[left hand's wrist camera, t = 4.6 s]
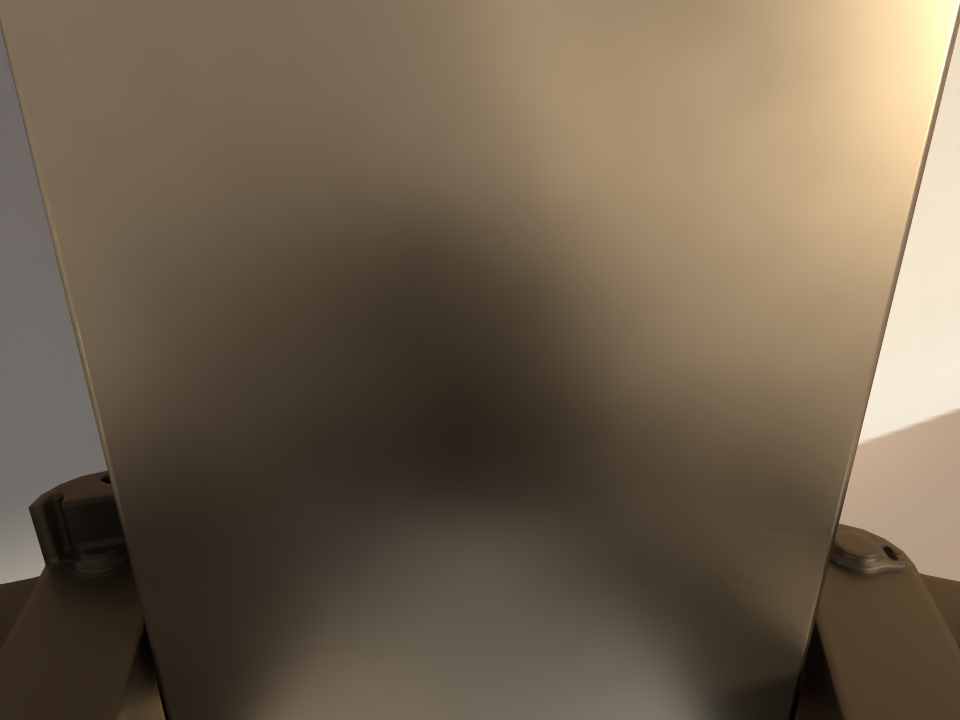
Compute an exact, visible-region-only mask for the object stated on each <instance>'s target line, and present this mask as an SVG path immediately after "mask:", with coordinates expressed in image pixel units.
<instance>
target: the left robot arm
mask: <svg viewBox="0 0 960 720" xmlns="http://www.w3.org/2000/svg"><path fill="white" fill-rule="evenodd" d="M29 511H30V514H31V517H32V521H33V524H34V527H35V531H36V534H37V537H38V541H39V544H40V547H41V551H42V554H43V557H44V561H45V564H46V566H45V568H44V570H43V572H42V574H41V575H40V576H39V577H35V578H31V579H26V580H21V581H16V582H11V583H6V584H1V585H0V720H168V716H167V712H166V708H165V704H164V700H163V696H162V692H161V687H160V683H159V679H158V675H157V671H156V667H155V663H154V658H153V654H152V650H151V646H150V642H149V638H148V634H147V630H146V625H145V621H144V617H143V613H142V609H141V605H140V601H139V596H138V592H137V588H136V584H135V580H134V576H133V572H132V568H131V563H130V559H129V555H128V551H127V547H126V543H125V539H124V534H123V530H122V526H121V522H120V518H119V514H118V510H117V506H116V501H115V497H114V493H113V489H112V485H111V481H110V477H109V472H108V471H104V472H100V473H95V474H90V475H86V476H82V477H79V478H76V479H74V480H71V481H68V482H66V483H63V484H60V485H58V486H57V487H55V488H53V489H51V490H50V491H48V492H46V493H44V494H43V495H41V496H40V497H39V498H38V499H37V500H36V501H35V502H34V503H33V504H32V505H31V506H30V507H29ZM791 720H960V582H959V581H954V580H949V579H944V578H939V577H933V576H928V575H924V574H920V573H919V572H918V571H917V569H916V567H915V565H914V564H913V563H912V561H911V560H910V559H909V558H908V557H907V555H906V554H905V553H904V552H903V551H902V550H900V549H899V548H897V547H896V546H894V545H893V544H891V543H890V542H889V541H887V540H886V539H884V538H881V537H879V536H877V535H875V534H872V533H870V532H868V531H865V530H863V529H859V528H855V527H851V526H847V525H843V524H838V528H837V532H836V536H835V540H834V545H833V549H832V553H831V557H830V561H829V565H828V569H827V574H826V578H825V582H824V586H823V590H822V594H821V598H820V603H819V607H818V611H817V615H816V619H815V623H814V627H813V631H812V636H811V640H810V644H809V648H808V652H807V656H806V660H805V665H804V669H803V673H802V677H801V681H800V685H799V689H798V693H797V698H796V702H795V706H794V710H793V714H792V718H791Z"/></svg>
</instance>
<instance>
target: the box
mask: <svg viewBox="0 0 960 720" xmlns="http://www.w3.org/2000/svg"><path fill="white" fill-rule="evenodd" d="M959 24H960V0H0V26H1V30H2V34H3V38H4V43H5V47H6V51H7V55H8V59H9V63H10V67H11V72H12V76H13V80H14V84H15V88H16V92H17V96H18V100H19V105H20V109H21V113H22V117H23V121H24V125H25V129H26V134H27V138H28V142H29V146H30V150H31V154H32V158H33V162H34V167H35V171H36V175H37V179H38V183H39V187H40V191H41V196H42V200H43V204H44V208H45V212H46V216H47V220H48V224H49V229H50V233H51V237H52V241H53V245H54V249H55V253H56V258H57V262H58V266H59V270H60V274H61V278H62V282H63V286H64V291H65V295H66V299H67V303H68V307H69V311H70V315H71V320H72V324H73V328H74V332H75V336H76V340H77V344H78V348H79V353H80V357H81V361H82V365H83V369H84V373H85V377H86V382H87V386H88V390H89V394H90V398H91V402H92V406H93V410H94V415H95V419H96V423H97V427H98V431H99V435H100V439H101V444H102V448H103V452H104V456H105V460H106V464H107V468H108V472H109V477H110V481H111V485H112V489H113V493H114V497H115V501H116V506H117V510H118V514H119V518H120V522H121V526H122V530H123V534H124V539H125V543H126V547H127V551H128V555H129V559H130V563H131V568H132V572H133V576H134V580H135V584H136V588H137V592H138V596H139V601H140V605H141V609H142V613H143V617H144V621H145V625H146V630H147V634H148V638H149V642H150V646H151V650H152V654H153V658H154V663H155V667H156V671H157V675H158V679H159V683H160V687H161V692H162V696H163V700H164V704H165V708H166V712H167V716H168V720H791V718H792V714H793V710H794V706H795V702H796V698H797V693H798V689H799V685H800V681H801V677H802V673H803V669H804V665H805V660H806V656H807V652H808V648H809V644H810V640H811V636H812V631H813V627H814V623H815V619H816V615H817V611H818V607H819V603H820V598H821V594H822V590H823V586H824V582H825V578H826V574H827V569H828V565H829V561H830V557H831V553H832V549H833V545H834V540H835V536H836V532H837V528H838V524H839V520H840V516H841V512H842V507H843V503H844V499H845V495H846V491H847V487H848V483H849V478H850V474H851V470H852V466H853V462H854V458H855V454H856V450H857V445H858V441H859V437H860V433H861V429H862V425H863V421H864V416H865V412H866V408H867V404H868V400H869V396H870V392H871V388H872V383H873V379H874V375H875V371H876V367H877V363H878V359H879V354H880V350H881V346H882V342H883V338H884V334H885V330H886V325H887V321H888V317H889V313H890V309H891V305H892V301H893V297H894V292H895V288H896V284H897V280H898V276H899V272H900V268H901V263H902V259H903V255H904V251H905V247H906V243H907V239H908V235H909V230H910V226H911V222H912V218H913V214H914V210H915V206H916V201H917V197H918V193H919V189H920V185H921V181H922V177H923V173H924V168H925V164H926V160H927V156H928V152H929V148H930V144H931V139H932V135H933V131H934V127H935V123H936V119H937V115H938V111H939V106H940V102H941V98H942V94H943V90H944V86H945V82H946V77H947V73H948V69H949V65H950V61H951V57H952V53H953V48H954V44H955V40H956V36H957V32H958V28H959Z"/></svg>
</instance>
